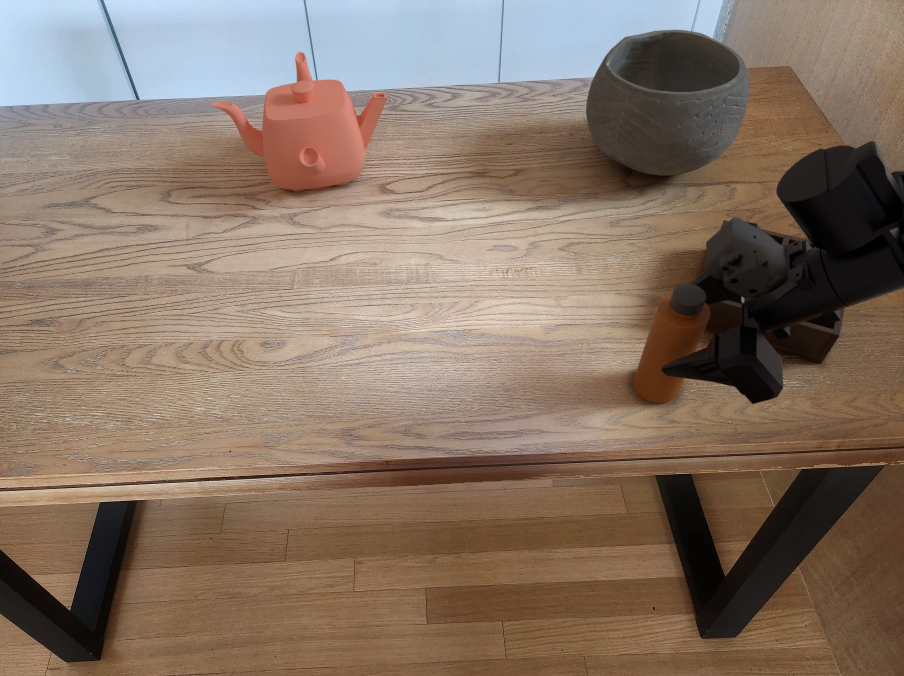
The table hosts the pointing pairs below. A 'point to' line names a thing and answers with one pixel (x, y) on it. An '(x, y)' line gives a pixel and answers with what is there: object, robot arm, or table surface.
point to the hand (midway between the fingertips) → (667, 337)
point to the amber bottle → (671, 341)
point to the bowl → (667, 101)
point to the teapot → (309, 131)
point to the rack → (804, 337)
